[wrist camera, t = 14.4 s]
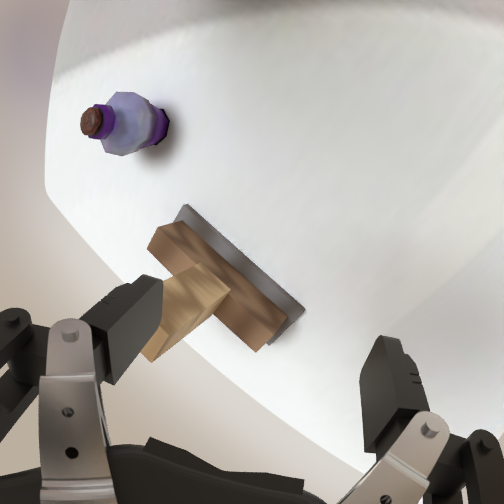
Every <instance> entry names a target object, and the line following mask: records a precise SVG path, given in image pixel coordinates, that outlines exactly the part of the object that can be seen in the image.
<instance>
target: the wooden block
mask: <svg viewBox="0 0 504 504" xmlns="http://www.w3.org/2000/svg"><path fill="white" fill-rule="evenodd" d="M163 285H164V286H163V306H162V319H161V322H160V325H159V327H158V329H157V331H156V332H155V333H154V335H153V336H152V337H151V339H150V340H149V341H148V342H147V344H146V345H145V346H144V347H143V349H142V350H141V351H140V352H141V353H142V354H143V355H144V356H145V357H146V358H147V359H148V360H149V361H150V362H151V363H152V362H153V361H154V360H156V359H157V358H158V357H160V356H161V355H162V354H163V353H165V352H166V351H167V350H168V349H170V348H171V347H172V346H174V345H175V344H176V343H177V342H179V341H180V340H181V339H182V338H184V337H185V336H186V335H188V334H189V333H190V332H191V331H193V330H194V329H195V328H196V327H198V326H199V325H200V324H201V323H203V322H204V321H205V320H206V319H208V318H209V317H210V316H211V315H212V314H213V313H214V311H215V310H216V309H217V307H218V306H219V305H220V303H221V302H222V301H223V299H224V298H225V297H226V295H227V294H228V293H229V291H230V290H231V289H230V288H228V287H227V286H226V285H225V284H224V283H223V282H222V281H221V280H220V279H218V278H217V277H216V276H215V275H214V274H213V273H212V272H211V271H210V270H209V269H207V268H206V267H205V266H204V265H203V264H202V263H201V262H200V263H198V264H196V265H194V266H192V267H190V268H188V269H186V270H184V271H182V272H180V273H178V274H177V275H175V276H173V277H171V278H169V279H167V280H165V281H163Z"/></svg>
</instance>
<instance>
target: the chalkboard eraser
mask: <svg viewBox="0 0 504 504" xmlns="http://www.w3.org/2000/svg"><path fill="white" fill-rule="evenodd" d="M147 250H148V251H149V252H150V253H151V254H152V255H153V256H154V257H155V258H156V259H157V260H158V261H159V262H160V263H161V264H162V265H163V266H164V267H165V268H166V269H167V270H168V271H169V272H170V273H171V274H172V275H173V276H175V275H177V274H178V273H180V272H182V271H184V270H186V269H188V268H190V267H192V266H194V265H196V264H198V263H200V262H201V263H202V264H203V265H204V266H205V267H206V268H207V269H209V270H210V271H211V272H212V273H213V274H214V275H215V276H216V277H217V278H218V279H220V280H221V281H222V282H223V283H224V284H225V285H226V286H227V287H228V288H230V289H231V290H230V291H229V293H228V294H227V295H226V297H225V298H224V299H223V301H222V302H221V303H220V305H219V306H218V307H217V309H216V310H215V311H214V313H213V314H214V315H215V316H216V317H217V318H218V319H219V320H220V321H221V322H222V323H223V324H225V325H226V326H227V327H228V328H229V329H230V330H231V331H232V332H233V333H234V334H236V335H237V336H238V337H239V338H240V339H241V340H242V341H243V342H244V343H246V344H247V345H248V346H249V347H250V348H251V349H252V350H253V351H255V352H257V351H258V350H259V349H260V348H261V347H262V346H263V345H264V344H265V343H267V344H268V345H271V344H272V343H273V342H274V341H275V340H276V339H277V338H278V337H279V336H280V335H281V334H282V333H283V332H284V331H285V330H286V329H287V328H288V327H289V326H290V325H291V324H292V323H293V322H294V321H295V320H296V319H297V318H298V317H299V316H300V315H301V314H302V313H303V311H304V310H305V308H304V307H303V306H302V305H300V304H299V303H298V302H297V301H296V300H295V299H294V298H293V297H291V296H290V295H289V294H288V293H287V292H286V291H285V290H283V289H282V288H281V287H280V286H279V285H278V284H277V283H276V282H274V281H273V280H272V279H271V278H270V277H269V276H268V275H267V274H265V273H264V272H263V271H262V270H261V269H260V268H259V267H258V266H256V265H255V264H254V263H253V262H252V261H251V260H250V259H249V258H247V257H246V256H245V255H244V254H243V253H242V252H241V251H240V250H238V249H237V248H236V247H235V246H234V245H233V244H232V243H231V242H229V241H228V240H227V239H226V238H225V237H224V236H223V235H222V234H220V233H219V232H218V231H217V230H216V229H215V228H214V227H213V226H212V225H210V224H209V223H208V222H207V221H206V220H205V219H204V218H203V217H201V216H200V215H199V214H198V213H197V212H196V211H195V210H194V209H193V208H191V207H190V206H189V205H188V204H185V205H183V206H182V208H181V210H180V211H179V213H178V215H177V217H176V218H175V220H174V222H173V223H171V224H167V225H164V226H160V227H158V228H157V230H156V232H155V234H154V236H153V237H152V239H151V241H150V243H149V245H148V247H147Z"/></svg>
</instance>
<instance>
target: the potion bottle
mask: <svg viewBox="0 0 504 504" xmlns="http://www.w3.org/2000/svg"><path fill="white" fill-rule="evenodd" d="M169 122H170V120H169V119H168V117H167V115H166V113H165V111H164V109H159V108H157V107H155V106H153V105H152V104H150V102H149V100H147V99H145V98H143V97H141V96H140V95H138V94H136V93H134V92H116V93H115V94H114V95H113V96H112V98H111V99H110V100H109V101H108V102H107V103H106V104H105V105H100V104H95V105H94V106H93V107H90V108H88V109H87V110H86V111H85V112H84V113H83V114H82V117H81V123H80V126H81V130H82V133H83V134H84V135H88V136H89V138H92V139H100V140H101V143H102V145H103V148H104V150H105V152H106V153H110V154H115V155H119V156H124V155H127V154H130V153H133V152H137V151H138V150H139V149H141V148H144V147H147V146H151V145H157V144H158V143H159V142H161V141H162V140H163V139H164V138H165V137H166V136H167V132H168V127H169Z"/></svg>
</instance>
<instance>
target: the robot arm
mask: <svg viewBox="0 0 504 504" xmlns="http://www.w3.org/2000/svg"><path fill="white" fill-rule="evenodd" d="M163 286H164V285H163V281H162V280H161V279H158V278H154V277H151V276H148V275H145V274H143V275H141V276H140V277H139V278H138V279H137V280H135V281H134V282H133V283H132V284H130V283H126V284H123V285H121V286H118V287H116V288H114V290H112V291H111V292H110V293H109V294H108V295H107V296H105V297H104V298H103V299H101V302H100V301H99V302H98V303H97V304H95V305H94V306H93V307H92V308H91V309H90V310H88V311H87V312H86V313H85V314H84V315H83V316H82V317H81V318H79V319H73V318H71V319H63V320H60V321H58V322H56V323H55V324H54V325H53V326H52V327H51V328H49V327H44V326H39V325H34V324H32V321H31V316H30V314H29V313H28V312H27V311H26V310H24V309H21V308H10V309H6V310H4V311H2V312H0V369H1V368H2V367H3V366H4V365H5V364H6V363H7V364H8V367H9V369H8V370H7V371H6V372H5V374H4V375H3V376H2V377H1V378H0V442H1V441H2V440H3V438H4V437H5V436H6V434H7V433H8V432H9V431H10V429H11V428H12V426H13V425H14V424H15V423H16V422H17V420H18V419H19V417H21V415H22V414H23V413H24V411H25V410H26V409H27V408H28V406H29V405H30V404H31V403H32V402H33V400H34V399H35V398H36V397H37V395H38V394H39V448H40V463H41V467H38V468H34V469H30V470H27V471H22V472H18V473H13V474H8V475H4V476H0V504H327V503H326V502H324V501H323V500H322V499H320V498H319V497H317V496H315V495H313V494H311V493H309V492H307V491H305V490H303V487H304V480H303V479H298V478H292V477H286V476H281V475H276V474H270V473H261V472H260V473H257V472H229V471H223V470H220V469H218V468H216V467H214V466H213V465H211V464H209V463H207V462H205V461H204V460H202V459H200V458H198V457H196V456H195V455H193V454H191V453H190V452H188V451H186V450H184V449H181V448H178V447H175V446H172V445H170V444H167V443H164V442H162V441H159V440H156V439H154V438H151V437H150V438H149V439H148V442H147V443H146V445H145V446H143V445H132V444H122V445H113V446H112V445H111V441H110V437H109V433H108V428H107V424H106V417H105V411H104V407H103V399H102V392H101V387H100V384H101V383H102V381H105V382H107V383H110V384H112V385H115V384H116V382H117V381H118V380H119V378H120V377H121V376H122V375H123V373H124V372H125V371H126V369H127V368H128V367H129V365H130V364H131V363H132V362H133V360H134V359H135V358H136V356H137V355H138V354H139V353H140V351H141V350H142V349H143V347H144V346H145V345H146V344H147V342H148V341H149V340H150V339H151V337H152V336H153V335H154V333H155V332H156V331H157V329H158V327H159V325H160V322H161V319H162V306H163ZM421 383H422V382H421V378H420V376H419V372H418V369H417V366H416V364H415V362H414V361H413V360H412V359H411V357H410V356H409V355H408V354H404V351H403V348H402V345H401V342H400V340H399V339H396V338H392V337H387V336H382V335H380V336H379V337H378V338H377V339H376V341H375V343H374V345H373V348H372V350H371V352H370V354H369V356H368V358H367V360H366V362H365V364H364V366H363V368H362V370H361V374H360V380H359V384H360V395H361V406H362V419H363V435H364V452H366V453H376V462H375V463H374V465H373V466H372V467H371V468H370V469H369V470H368V471H367V473H366V474H365V475H364V476H363V477H362V478H361V479H360V480H359V481H358V482H357V484H356V485H355V486H354V487H353V488H352V489H351V490H350V491H349V492H348V493H347V494H346V495H345V496H344V497H343V498H342V499H341V500H340V501H339V502H338V503H337V504H418V502H419V501H420V499H421V497H422V496H423V504H463V500H462V492H461V489H462V488H464V487H465V486H466V488H467V495H468V504H504V458H503V455H502V451H501V448H500V445H499V442H498V440H497V439H496V437H495V436H494V435H493V434H491V433H490V432H488V431H486V430H482V429H479V430H475V431H474V432H473V433H472V434H471V435H470V436H469V437H468V438H467V439H466V438H463V437H460V436H457V435H454V434H451V433H450V431H449V427H448V425H447V423H446V422H445V421H444V419H442V418H441V417H440V416H439V415H437V414H435V413H432V412H430V409H429V405H428V402H427V398H426V395H425V391H424V388H423V385H422V384H421Z"/></svg>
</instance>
